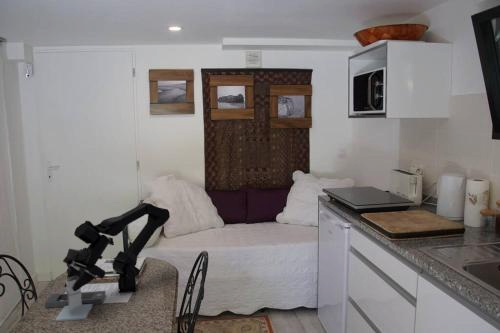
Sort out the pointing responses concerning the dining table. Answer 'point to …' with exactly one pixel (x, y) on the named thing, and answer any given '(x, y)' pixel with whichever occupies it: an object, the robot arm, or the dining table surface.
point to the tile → (74, 313)
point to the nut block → (73, 292)
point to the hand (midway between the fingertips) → (69, 288)
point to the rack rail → (86, 298)
